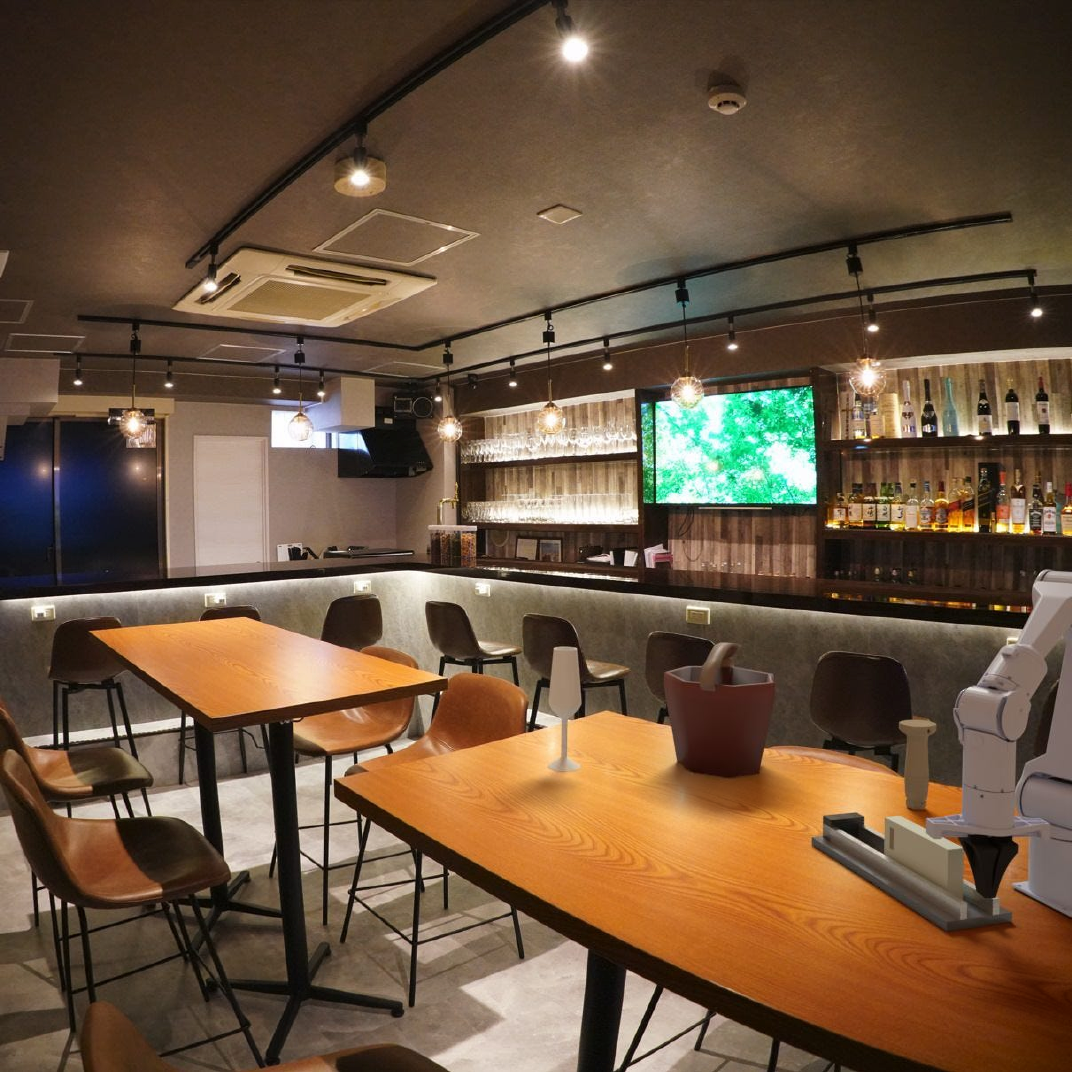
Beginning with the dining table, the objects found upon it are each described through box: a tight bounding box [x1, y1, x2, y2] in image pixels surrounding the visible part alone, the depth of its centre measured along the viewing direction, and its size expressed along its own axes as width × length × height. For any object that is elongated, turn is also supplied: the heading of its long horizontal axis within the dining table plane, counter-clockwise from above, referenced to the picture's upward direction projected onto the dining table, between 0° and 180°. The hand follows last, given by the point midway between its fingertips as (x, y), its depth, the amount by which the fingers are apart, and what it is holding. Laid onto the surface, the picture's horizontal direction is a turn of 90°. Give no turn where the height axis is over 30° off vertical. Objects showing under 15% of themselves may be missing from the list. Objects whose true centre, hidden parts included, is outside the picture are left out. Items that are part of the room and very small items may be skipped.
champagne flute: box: [547, 646, 582, 772], centre depth 168 cm, size 7×7×24 cm
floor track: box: [811, 811, 1013, 932], centre depth 117 cm, size 28×10×4 cm, turn 16°
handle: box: [898, 719, 937, 811], centre depth 146 cm, size 5×6×15 cm
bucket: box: [663, 642, 776, 779], centre depth 170 cm, size 24×22×25 cm
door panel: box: [884, 815, 965, 900], centre depth 113 cm, size 12×3×7 cm, turn 16°
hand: (985, 894), depth 102 cm, fingers closed
